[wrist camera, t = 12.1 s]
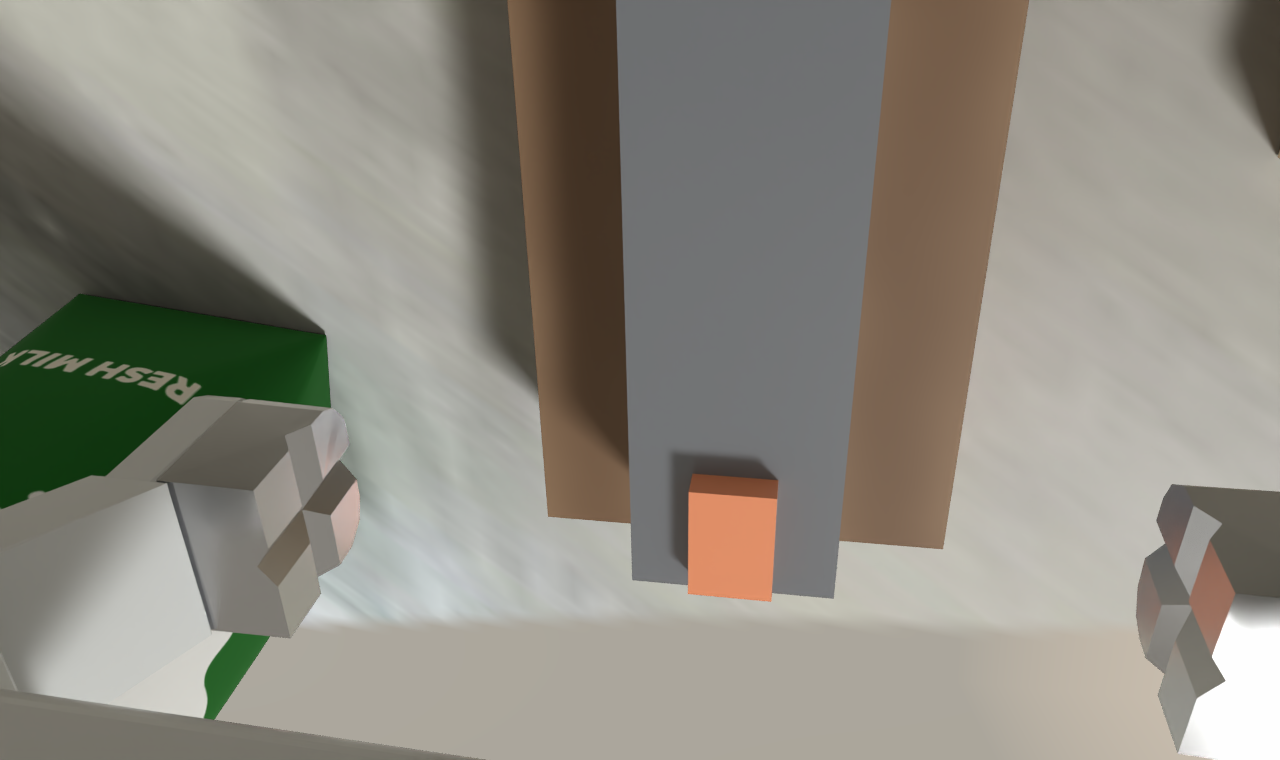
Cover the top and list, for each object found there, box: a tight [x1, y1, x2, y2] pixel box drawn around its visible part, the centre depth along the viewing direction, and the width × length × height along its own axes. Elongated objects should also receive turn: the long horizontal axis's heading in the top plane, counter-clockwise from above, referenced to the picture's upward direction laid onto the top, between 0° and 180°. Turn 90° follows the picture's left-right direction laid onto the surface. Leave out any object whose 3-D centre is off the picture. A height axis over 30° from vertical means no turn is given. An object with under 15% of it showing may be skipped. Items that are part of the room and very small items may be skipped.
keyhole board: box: [507, 0, 1029, 549], centre depth 20 cm, size 9×21×4 cm, turn 1°
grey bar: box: [616, 0, 891, 602], centre depth 18 cm, size 4×16×6 cm, turn 1°
